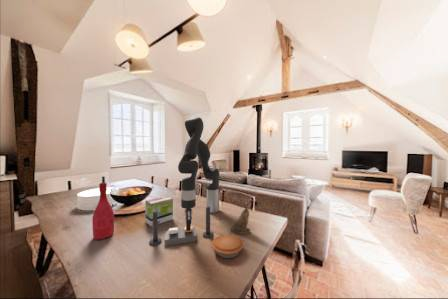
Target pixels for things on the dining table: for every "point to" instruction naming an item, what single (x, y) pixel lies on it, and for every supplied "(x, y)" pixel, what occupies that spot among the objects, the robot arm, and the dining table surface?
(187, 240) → the large grey rectangular block
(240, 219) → the worn brown figurine
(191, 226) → the orange slab
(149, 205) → the tea box
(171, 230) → the white slab
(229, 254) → the pie
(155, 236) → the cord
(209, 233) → the dark grey peg stand
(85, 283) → the dining table surface
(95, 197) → the plate stack
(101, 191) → the wine bottle
